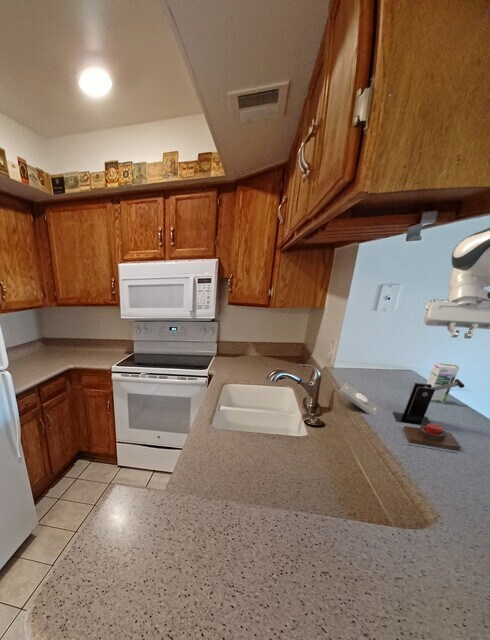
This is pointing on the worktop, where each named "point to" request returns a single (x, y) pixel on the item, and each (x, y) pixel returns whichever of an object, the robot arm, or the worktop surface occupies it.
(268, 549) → the worktop surface
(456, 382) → the switch lever
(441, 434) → the button box
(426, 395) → the bracket
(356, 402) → the light switch
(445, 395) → the syrup box
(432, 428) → the button
